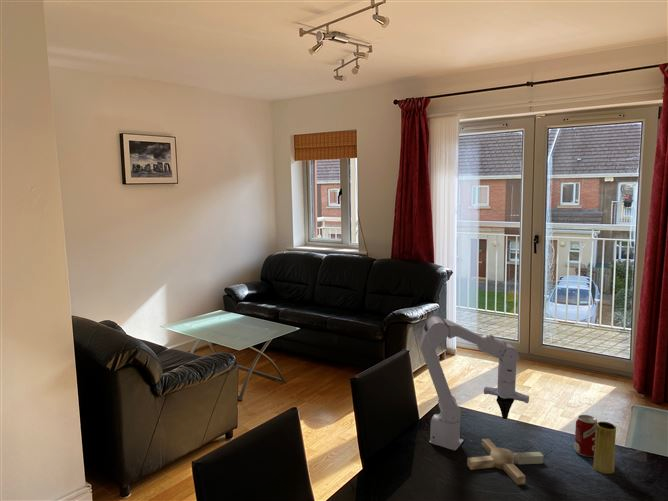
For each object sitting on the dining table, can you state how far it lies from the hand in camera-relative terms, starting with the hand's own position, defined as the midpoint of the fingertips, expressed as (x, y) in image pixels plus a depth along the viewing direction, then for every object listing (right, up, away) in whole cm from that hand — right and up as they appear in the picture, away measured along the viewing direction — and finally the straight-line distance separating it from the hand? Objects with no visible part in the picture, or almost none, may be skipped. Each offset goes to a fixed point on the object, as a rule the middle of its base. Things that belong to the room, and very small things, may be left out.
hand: (505, 417), depth 169 cm
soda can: (+25, -10, -5) cm, 27 cm away
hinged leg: (+4, -11, -10) cm, 15 cm away
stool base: (-9, -11, -12) cm, 18 cm away
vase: (+26, -11, -14) cm, 32 cm away
